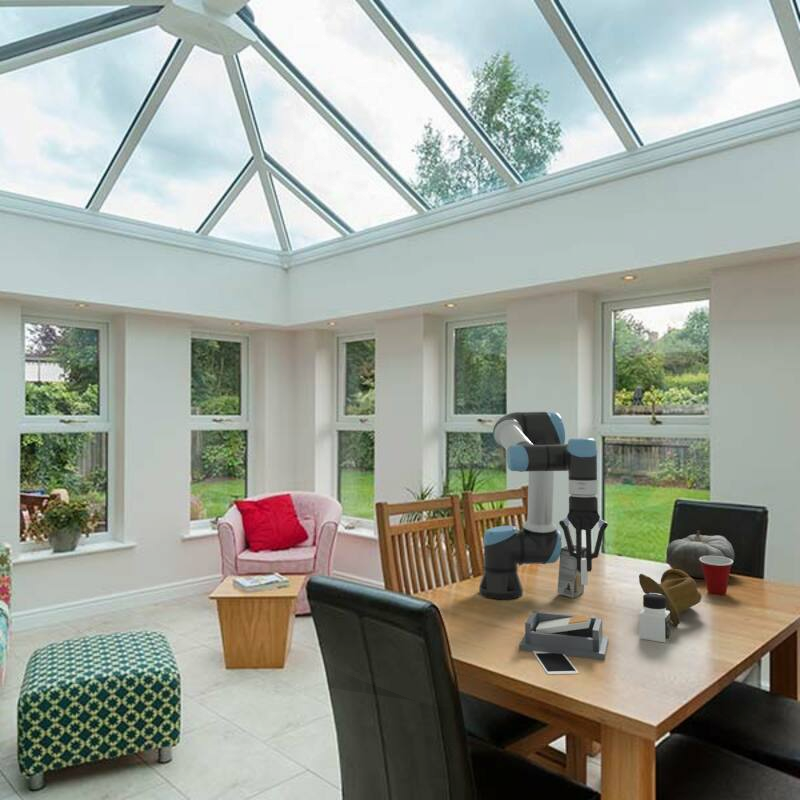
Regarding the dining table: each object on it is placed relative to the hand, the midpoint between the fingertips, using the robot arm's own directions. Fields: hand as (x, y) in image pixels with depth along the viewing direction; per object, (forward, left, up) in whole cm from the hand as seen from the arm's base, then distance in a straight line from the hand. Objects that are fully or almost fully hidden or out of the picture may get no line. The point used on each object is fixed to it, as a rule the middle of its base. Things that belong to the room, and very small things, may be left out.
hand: (584, 583), depth 180 cm
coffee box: (-11, +55, -17) cm, 59 cm away
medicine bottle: (+17, +16, -18) cm, 30 cm away
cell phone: (-6, -13, -18) cm, 23 cm away
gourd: (+33, +101, -18) cm, 108 cm away
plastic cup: (+37, +73, -18) cm, 84 cm away
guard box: (-6, 0, -18) cm, 18 cm away
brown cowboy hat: (+22, +39, -18) cm, 48 cm away
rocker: (-6, 0, -13) cm, 14 cm away
